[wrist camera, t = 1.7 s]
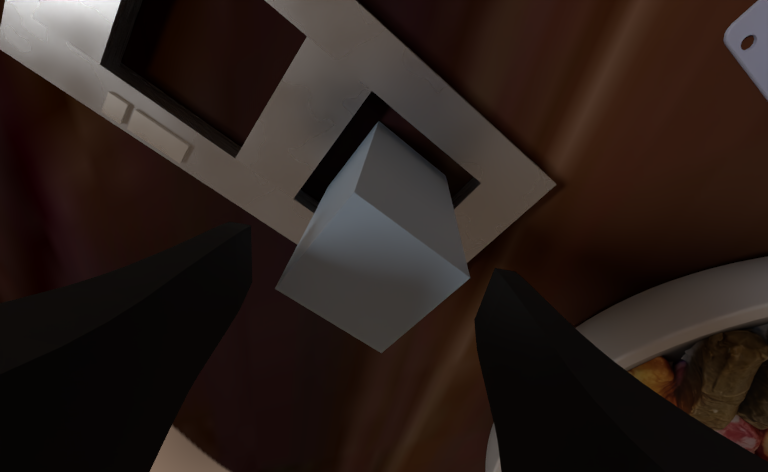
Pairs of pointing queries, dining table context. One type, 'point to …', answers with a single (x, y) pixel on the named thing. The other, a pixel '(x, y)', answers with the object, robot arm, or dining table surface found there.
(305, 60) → the panel
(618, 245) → the dining table surface
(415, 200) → the plug
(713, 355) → the bowl
